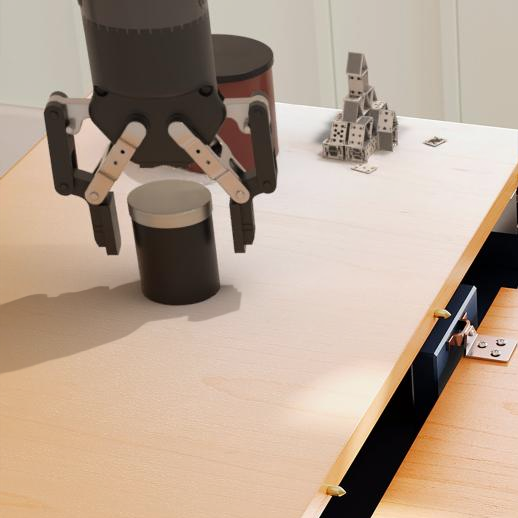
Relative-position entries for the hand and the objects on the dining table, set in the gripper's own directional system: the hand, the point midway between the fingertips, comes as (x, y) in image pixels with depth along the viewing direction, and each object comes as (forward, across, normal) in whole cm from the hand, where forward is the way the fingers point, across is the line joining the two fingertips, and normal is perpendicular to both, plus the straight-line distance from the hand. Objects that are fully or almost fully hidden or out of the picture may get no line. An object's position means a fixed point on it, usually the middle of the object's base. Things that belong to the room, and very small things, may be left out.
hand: (177, 249), depth 104 cm
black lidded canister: (+4, 0, 0) cm, 4 cm away
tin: (+4, -1, -26) cm, 26 cm away
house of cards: (+4, -14, -26) cm, 30 cm away
